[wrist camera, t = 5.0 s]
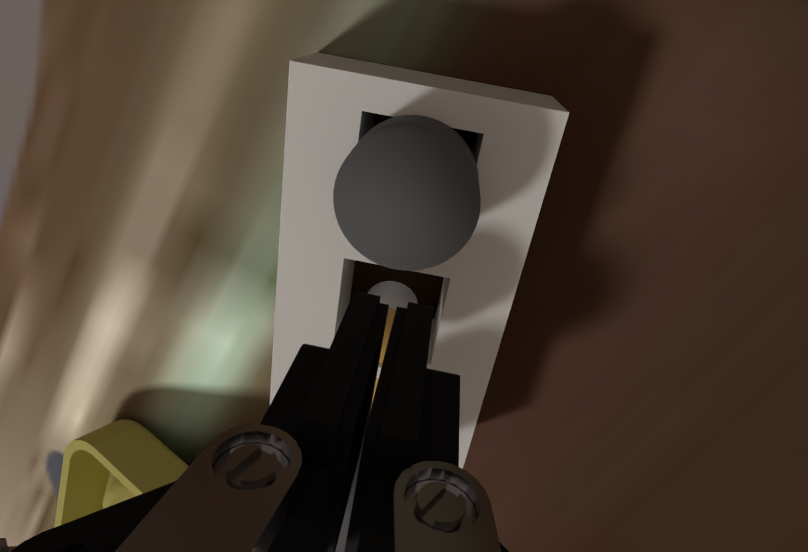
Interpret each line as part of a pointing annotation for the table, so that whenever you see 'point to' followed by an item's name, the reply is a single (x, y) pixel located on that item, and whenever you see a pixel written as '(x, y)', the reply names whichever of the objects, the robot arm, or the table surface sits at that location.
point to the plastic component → (113, 469)
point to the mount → (463, 273)
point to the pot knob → (391, 309)
